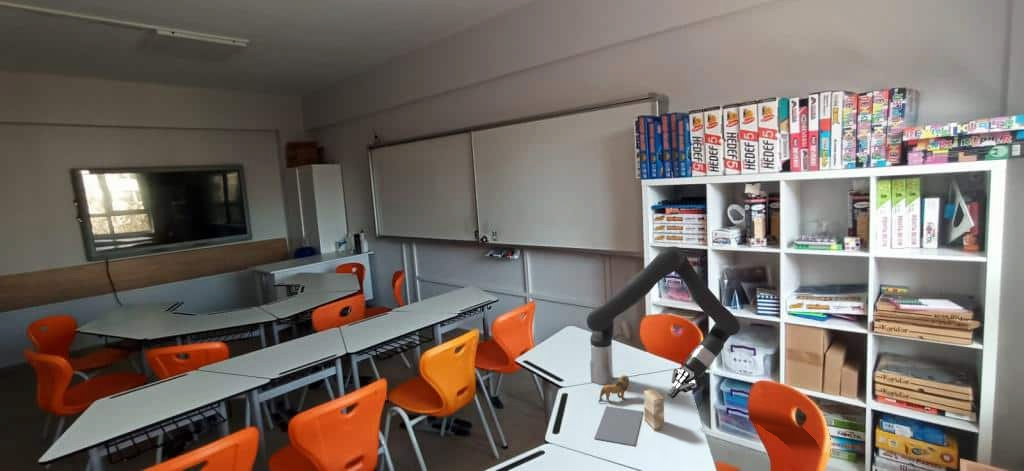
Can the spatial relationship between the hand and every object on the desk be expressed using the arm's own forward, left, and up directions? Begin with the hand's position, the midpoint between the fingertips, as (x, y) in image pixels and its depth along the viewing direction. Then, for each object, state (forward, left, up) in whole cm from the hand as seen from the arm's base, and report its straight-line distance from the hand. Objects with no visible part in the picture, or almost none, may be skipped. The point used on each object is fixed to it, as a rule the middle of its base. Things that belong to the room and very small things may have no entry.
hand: (670, 396), depth 169 cm
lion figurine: (-23, +11, -10) cm, 27 cm away
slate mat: (-17, -8, -10) cm, 22 cm away
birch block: (-5, -4, -10) cm, 12 cm away
